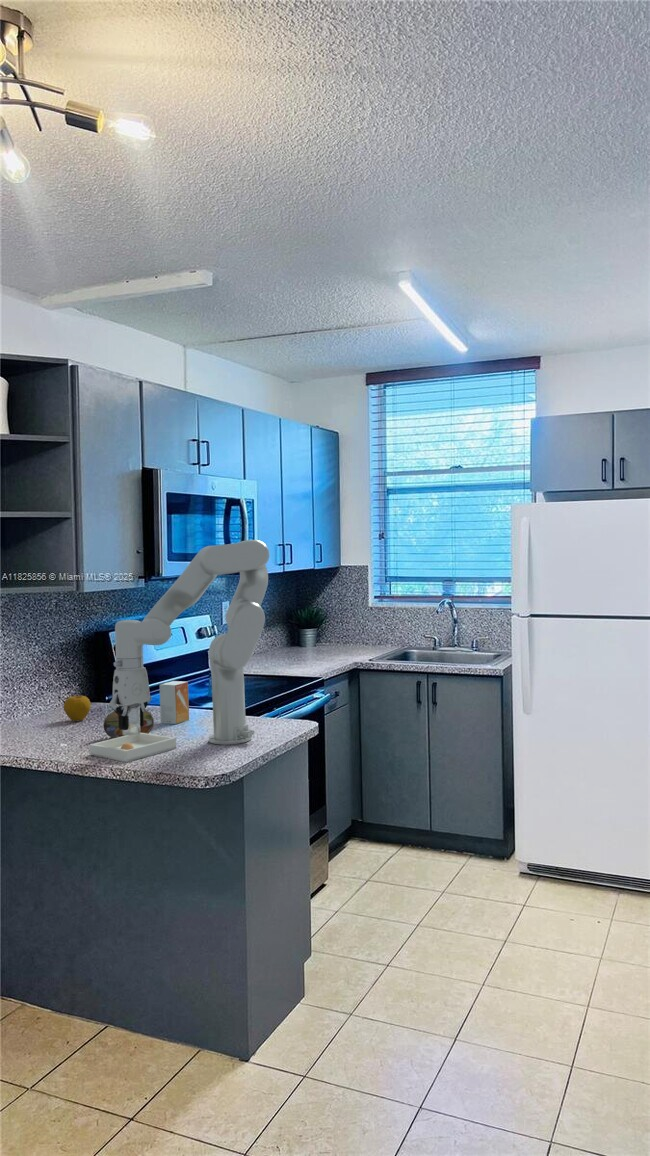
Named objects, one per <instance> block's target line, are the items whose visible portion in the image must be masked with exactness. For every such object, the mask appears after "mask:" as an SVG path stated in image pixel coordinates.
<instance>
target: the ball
mask: <svg viewBox="0 0 650 1156" xmlns="http://www.w3.org/2000/svg"><path fill="white" fill-rule="evenodd" d="M133 748H134V747H133V745H132V744H130V743H125V744H123V745H122V746H121V749H125V750H129V749H133Z"/></svg>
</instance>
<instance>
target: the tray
mask: <svg viewBox="0 0 650 1156" xmlns="http://www.w3.org/2000/svg"><path fill="white" fill-rule="evenodd" d="M125 743H130V744H132V745H133V747H134V748H133V749H129V750H125V749H121V746H122V745H123V744H125ZM88 747H89V756H91V755H94V756H93V757H97V756H98V757H97V758H102V757H103V758H102V759H107V758H108V760H113V761H120V762H124V763H129V762H132V761H137V760H139V759H143V758H148V757H150V756H154V755H157V754H162V753H164V752H168V751H171V750H172V751H173V750H176V749H177V737H172V736H166V735H159V734H153V733H148V734H147V733H140V734H138V735H130V736H128V735H126V736H122V737H118V738H110V739H106V740H102V741H99V742H95V743H94V742H93V743H91V744H88Z"/></svg>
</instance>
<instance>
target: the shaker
mask: <svg viewBox="0 0 650 1156" xmlns="http://www.w3.org/2000/svg"><path fill="white" fill-rule="evenodd" d="M122 709H123V707H122ZM126 716H128V730H122V734H123V735H128V736H130V735H138V734H140V703H137V704H134V705H129V706H127V712H126Z"/></svg>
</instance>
